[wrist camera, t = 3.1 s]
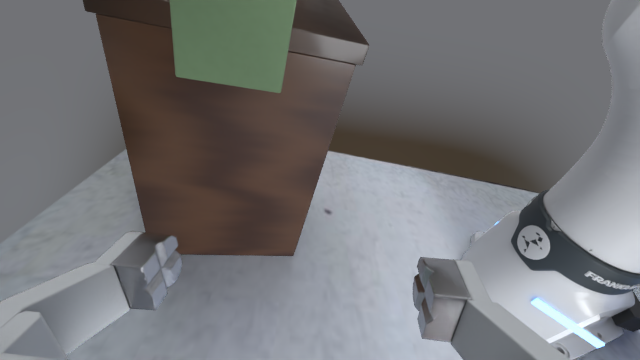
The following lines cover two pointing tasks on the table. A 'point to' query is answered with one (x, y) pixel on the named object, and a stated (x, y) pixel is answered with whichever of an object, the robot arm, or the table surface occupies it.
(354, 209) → the table surface
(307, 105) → the drawer unit
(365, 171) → the table surface
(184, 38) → the storage box
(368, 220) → the table surface
